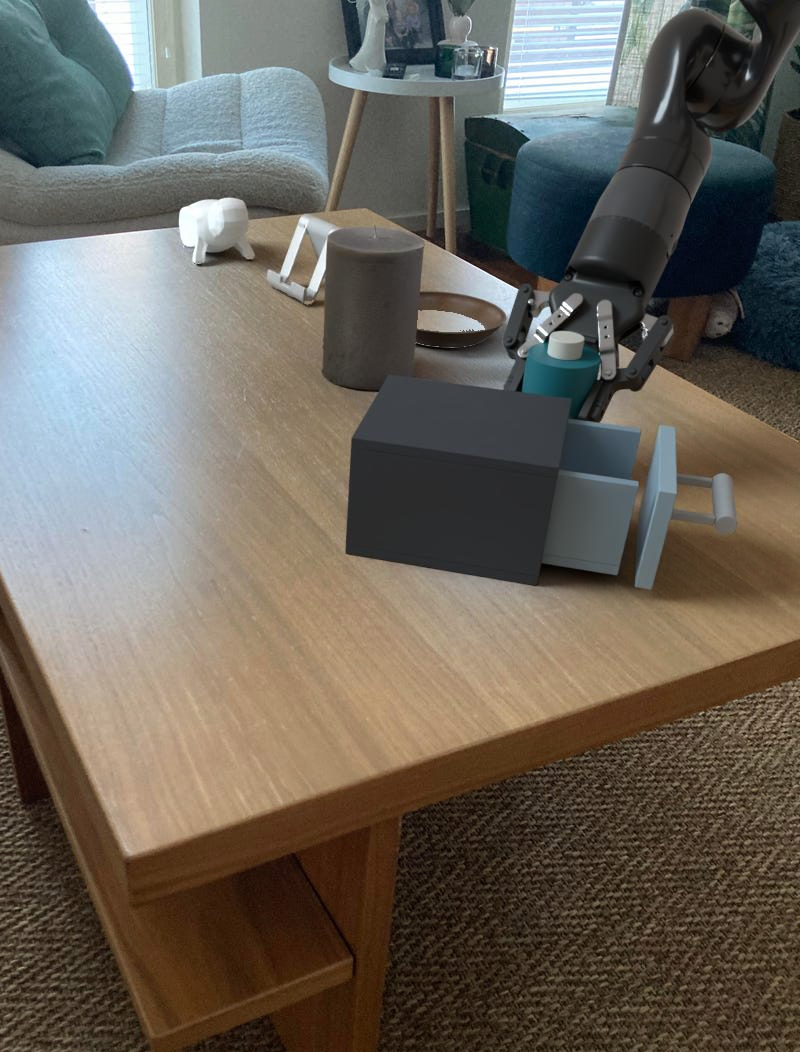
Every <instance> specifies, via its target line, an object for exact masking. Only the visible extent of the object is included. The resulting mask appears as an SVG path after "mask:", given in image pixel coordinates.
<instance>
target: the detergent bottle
mask: <svg viewBox="0 0 800 1052" xmlns="http://www.w3.org/2000/svg"><path fill="white" fill-rule="evenodd" d="M584 340H585V339H584V337H583V336H582V335H580V334H578V333H575V332H569V331H557V332H553V333H552V334H551V335H550V339H549V342H545V343H539V344H535V345H533V346H531V347H530V348H529V349H528V352H527V359H526V365H525V372H524V379H523V385H522V392H524V393H532V394H539V395H547V396H555V397H562V398H570V399H572V402H571V408H570V413H569V419H575V420H578V416H579V413H580V411H581V409H582V407H583V405H584V402H585V400H586V398H587V396H588V394H589V392H590V390H591V387H592V385H593V383H594V381H595V379H598V377H599V372H600V369H601V358H600V353H599V354H598V353H597V352H596V351H594V350H592V349H590V348H588V347H585V346H584Z"/></svg>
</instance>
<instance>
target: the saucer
mask: <svg viewBox="0 0 800 1052" xmlns="http://www.w3.org/2000/svg"><path fill="white" fill-rule="evenodd" d="M419 310H420V311H422V310H437V311H445V312H453V313H457V314H461V315H464V316H466V317H469V318H472V319H474V320H477V321H478V322H479V323H481V325H483V326H484V328H485V330H480V331H479V330H478V331H474V330H473V329H472V331H471V330H470V329H469V331H467V330H466V332H465V331H464V330H463V331H462V332H439V331H430V330H424V329H418V328H417V332H416V342H417V343H420V344H424V345H430V346H439V347H459V348H465V347H464V346H467V347H471V346H470V345H472V346H475V345H478V344H480V343H482V342H484V341H486V340H487V339H488V338H490V337H491V336H492V335H494V334H495V333H496V332H497V331H498V330H500V328H501V327H502V326H503V325H504V323H505V322H506V320H507V314H506V312H505V311H504V309H502V308H501V307H499V306H498V305H496V304H495V303H493V302H491V301H488V300H485V299H482V298H479V297H476V296H471V295H468V294H463V293H457V292H450V291H435V290H434V291H433V290H422V291H421V290H420V296H419ZM460 331H461V330H460ZM477 343H478V344H477ZM474 344H475V345H474ZM436 348H437V349H439V348H438V347H436Z"/></svg>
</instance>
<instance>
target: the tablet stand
mask: <svg viewBox="0 0 800 1052" xmlns="http://www.w3.org/2000/svg"><path fill="white" fill-rule="evenodd" d="M338 229H344V228H342V227H340V226H337V225H336V224H333V223H332V222H329V221H327V220H324V219H322V218H320V217H316V216H314V215H312V214H311V213H303V214H302V215H301V216H300V217H299V219H298V223H297V226H296V227H295V231H294V233H293V236H292V239H291V242H290V244H289V247H288V250H287V252H286V256H285V259H284V261H283V264H282V266H281V269H280V272H279V273H277V272H276V271H274V270H273V269H268V270H267V274H266V283H267V284H268V285H269V284H270V285H272V286H274V287H275V288H277V289H279V290H281V291H283V292H285V293H287V294H289V295H291V296H293V297H295V298H296V299H298V300H300V301H302V302H303V303H304V302H305V300H306V301H312V300H315V301H316V299H317V296H318V294H319V291H320V289H321V286H322V283H323V281H324V278H325V272H326V249H327V238H328V235H329V234H330V233H332V232H333V231H336V230H338ZM307 235H308V236H309V240H310V242H311V245H312V248H313V252H314V254H315V257H316V261H317V263H316V265H315V268H314V271H313V274H312V276H311V279H310V281H309V284H308V286H307V287H304V286H302V285H301V284H299V283H297V282H295V281H290V284H289V280H290V277H291V275H292V271H293V269H294V266H295V264H296V261H297V258H298V256H299V252H300V250H301V247H302V244H303V242H304V239H305V237H306V236H307ZM270 285H269V286H270ZM272 286H271V287H272ZM277 289H276V290H277ZM279 290H278V291H279ZM281 291H280V292H281ZM283 292H282V293H283ZM285 293H284V294H285ZM287 294H286V295H287ZM296 299H295V300H296ZM298 300H297V301H298ZM303 303H301V304H302V305H304V304H303ZM312 305H313V304H310V305H307V307H309V306H312Z"/></svg>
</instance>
